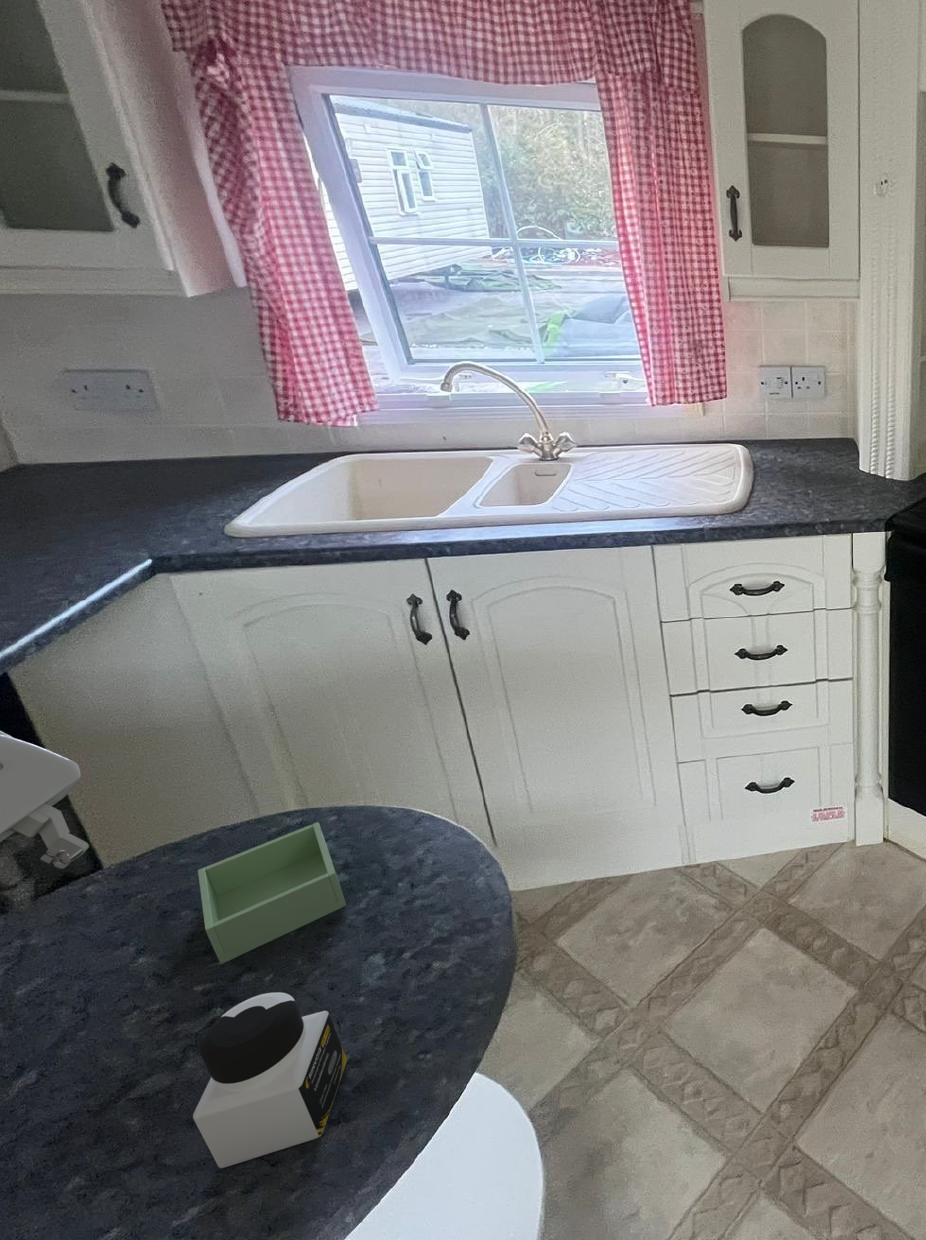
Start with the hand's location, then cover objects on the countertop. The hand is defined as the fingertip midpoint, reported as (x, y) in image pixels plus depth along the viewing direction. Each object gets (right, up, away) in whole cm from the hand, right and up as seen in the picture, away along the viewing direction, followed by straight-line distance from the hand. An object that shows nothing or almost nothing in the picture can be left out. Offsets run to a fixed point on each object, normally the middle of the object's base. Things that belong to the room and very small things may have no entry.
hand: (15, 906), depth 58 cm
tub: (-7, -15, +30) cm, 35 cm away
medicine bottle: (+11, -24, +11) cm, 29 cm away
